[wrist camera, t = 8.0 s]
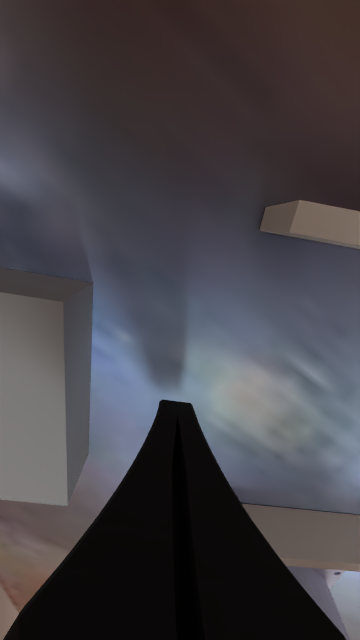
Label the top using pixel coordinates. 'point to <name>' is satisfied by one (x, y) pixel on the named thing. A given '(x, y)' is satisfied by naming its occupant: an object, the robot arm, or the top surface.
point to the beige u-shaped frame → (295, 524)
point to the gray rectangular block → (43, 385)
